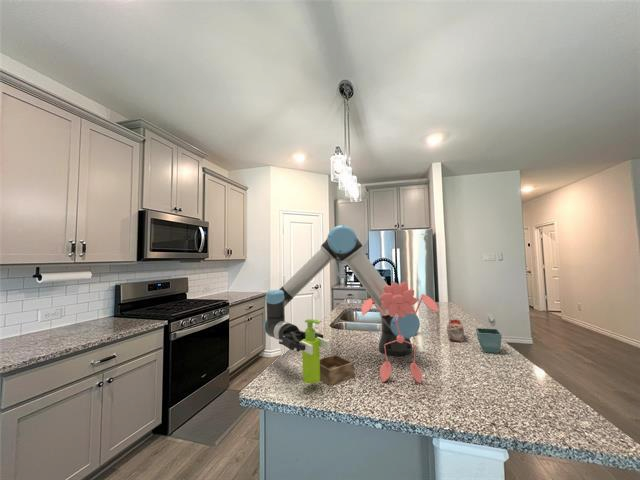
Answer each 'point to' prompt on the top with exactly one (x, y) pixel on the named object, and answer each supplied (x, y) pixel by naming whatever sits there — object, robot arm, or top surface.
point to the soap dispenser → (311, 361)
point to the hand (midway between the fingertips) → (320, 347)
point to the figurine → (400, 303)
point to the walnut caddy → (335, 369)
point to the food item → (455, 331)
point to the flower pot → (489, 339)
